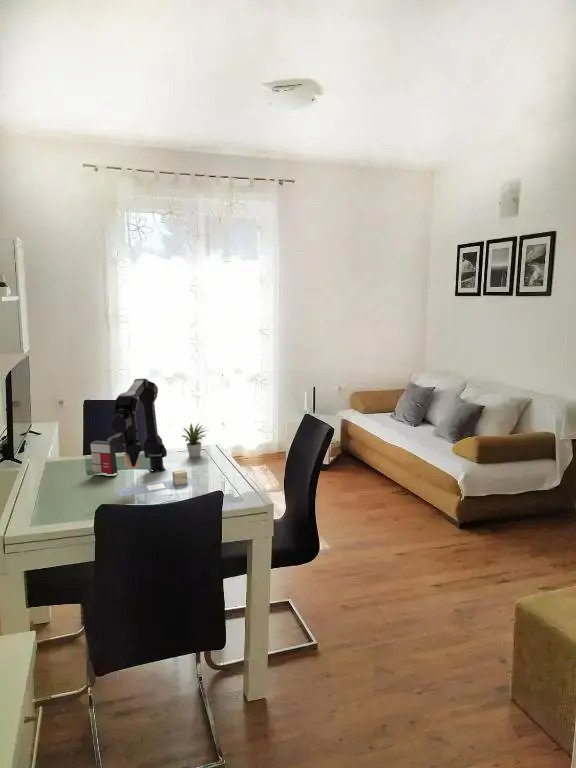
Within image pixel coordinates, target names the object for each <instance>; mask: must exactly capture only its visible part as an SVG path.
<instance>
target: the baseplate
mask: <svg viewBox="0 0 576 768" xmlns="http://www.w3.org/2000/svg"><path fill="white" fill-rule="evenodd" d="M187 480H188V483H187V484H181V485H175V484H174V483H173V479H171V480H166V481H160V482H153V483H148V484H141V485H136V486H129V487H124V488H118V489H117V488H116V493H117V495H118V498H122V497H129V496H133V495H139V494H140V495H141V494H146V493H153V492H158V491H164V490H169V489H170V490H171V489H175V488H182V487H187V486H193V485H196V483H195V482H194V480H192V478H191V477H187Z"/></svg>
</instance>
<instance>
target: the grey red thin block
mask: <svg viewBox="0 0 576 768" xmlns="http://www.w3.org/2000/svg"><path fill="white" fill-rule="evenodd" d="M89 445H90V455H91V464H92V465H91V466H92V472H93V471H95V472H103V473H107V474H114V473H117V474H118V467H117V466H118V465H117V464H118V463H117V455H116V454H117V453H116V452H117V446H115V447H114V448H111V446H110V444H109V442H108V440H94V441H91V442H89Z"/></svg>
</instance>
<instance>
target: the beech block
mask: <svg viewBox="0 0 576 768" xmlns="http://www.w3.org/2000/svg"><path fill="white" fill-rule="evenodd" d="M171 473H172V480H173V483H174V484H175V485H181V484H187V483H188V480H187V478H188V471H187V470H186V469H185V468H177V469H173V470H172V471H171Z"/></svg>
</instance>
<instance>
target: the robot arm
mask: <svg viewBox="0 0 576 768" xmlns="http://www.w3.org/2000/svg"><path fill="white" fill-rule="evenodd" d="M158 393H159V387H158V386H157V384H156V383H155V382H152V381H150V380H149V379H148V378H143V377H142V378H136V379H135V378H134V380H133V383H132V384H131V385H130V386H129V388H128V390H127V391H125V392H122V393H120V394H118V395H117V397H116V399H115V403H114V410H113V415H115V418H114V419H113V420H112V422H111V428H112V430H113V431H114V432H116V434H114V435H111V436H109V437H108V438H107V439H106V441H108V442H109V444H110V446H111V448H114V447H115V446H116V447H118V446H119V445H121V447H122V448H123V449H124V454H128V455H129V458H130V461H131V464H132V467H133V466H135V465H136V462H137V459H138V456H139V457H140V452H142V451H143V454H144V458H145V459H149V466H150V467H149V468H150V469H151V470H153V471H151V472H150V473H155V472H154V471H158V472H162V471H163V472H164V471H166V468H165V466H164V458H165V457H168V456H167V454H168V452H167V448H166V446H165V445H164V443H163V439H162V438H161V436H160V435H159V434H158V427H157V426H158V425H157V416H156V406H155V402H156V400H157V398H158ZM139 402H141V404H142V405H143V413H144V422H145V430H146V438H145V440H144V441H143V447H142V444H141V443H140V442H139V441H140V440H139V438H138V432H139V431H138V427H137V417H136V414H137V410H138V406H139Z"/></svg>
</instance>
